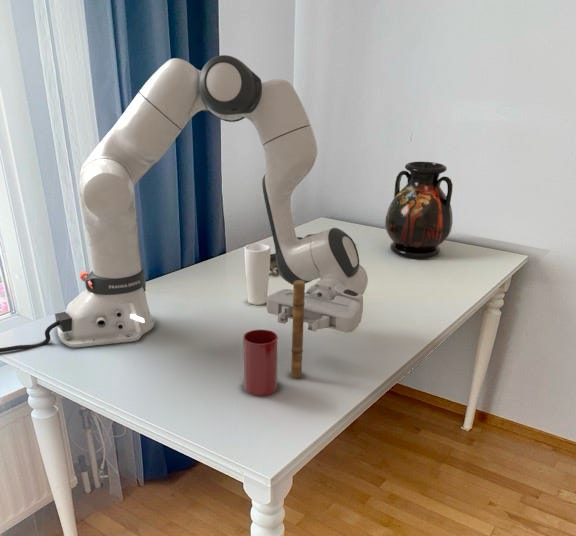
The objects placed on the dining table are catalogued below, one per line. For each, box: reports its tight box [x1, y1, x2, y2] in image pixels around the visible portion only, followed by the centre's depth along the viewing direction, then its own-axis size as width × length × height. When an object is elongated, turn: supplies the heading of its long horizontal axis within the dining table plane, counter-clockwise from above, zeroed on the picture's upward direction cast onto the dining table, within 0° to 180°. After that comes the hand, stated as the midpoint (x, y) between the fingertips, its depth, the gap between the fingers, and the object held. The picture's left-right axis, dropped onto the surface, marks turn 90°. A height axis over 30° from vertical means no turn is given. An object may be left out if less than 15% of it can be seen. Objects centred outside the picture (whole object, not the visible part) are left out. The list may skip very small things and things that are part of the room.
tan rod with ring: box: [290, 280, 306, 379], centre depth 122 cm, size 2×2×21 cm
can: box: [242, 329, 279, 397], centre depth 120 cm, size 7×7×12 cm
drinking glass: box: [243, 243, 271, 306], centre depth 158 cm, size 7×7×15 cm
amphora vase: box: [384, 161, 453, 260], centre depth 194 cm, size 22×22×28 cm
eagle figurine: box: [270, 252, 278, 276], centre depth 180 cm, size 8×7×9 cm
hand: (295, 323), depth 120 cm, fingers open, 5 cm apart
